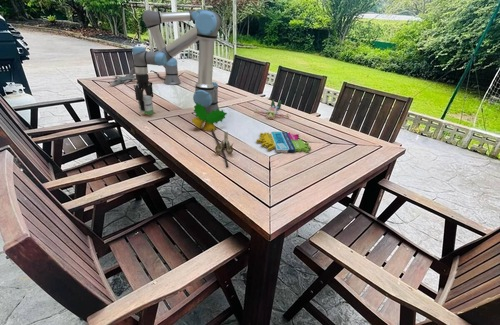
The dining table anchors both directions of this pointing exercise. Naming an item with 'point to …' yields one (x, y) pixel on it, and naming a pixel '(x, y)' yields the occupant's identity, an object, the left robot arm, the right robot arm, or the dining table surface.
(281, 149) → the colourful gloves pack
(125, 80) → the airplane
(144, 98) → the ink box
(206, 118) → the ornament
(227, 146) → the jawbone
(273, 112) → the toy
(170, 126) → the dining table surface
